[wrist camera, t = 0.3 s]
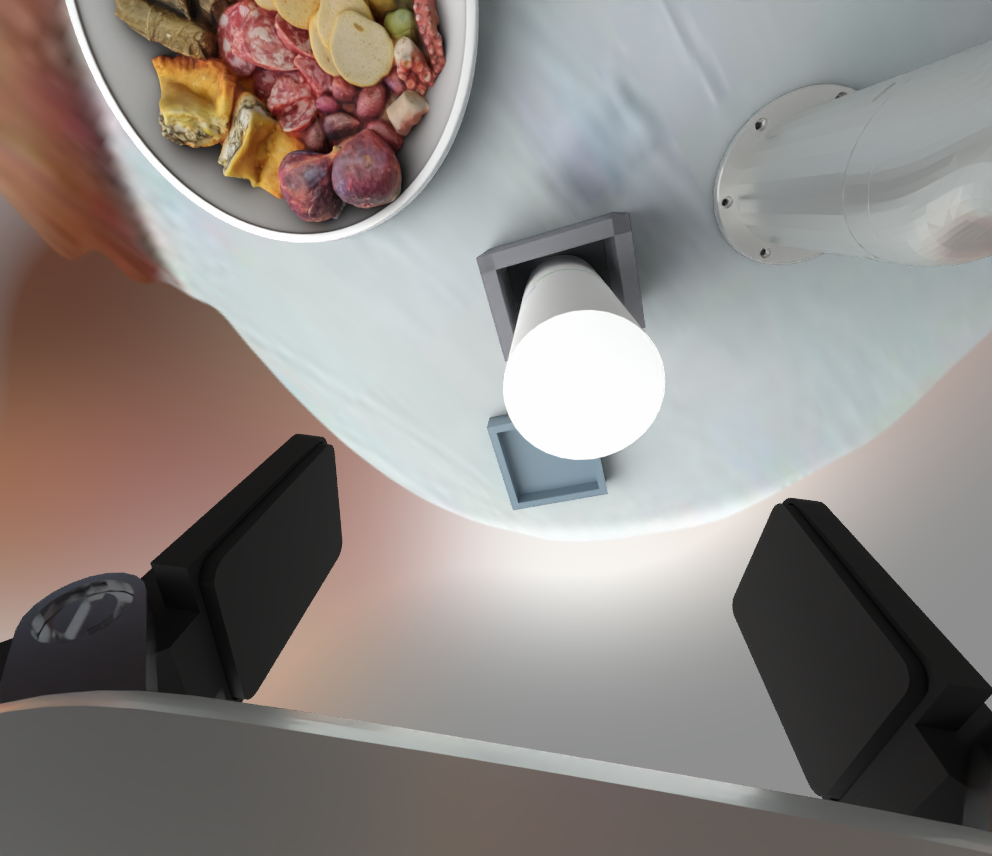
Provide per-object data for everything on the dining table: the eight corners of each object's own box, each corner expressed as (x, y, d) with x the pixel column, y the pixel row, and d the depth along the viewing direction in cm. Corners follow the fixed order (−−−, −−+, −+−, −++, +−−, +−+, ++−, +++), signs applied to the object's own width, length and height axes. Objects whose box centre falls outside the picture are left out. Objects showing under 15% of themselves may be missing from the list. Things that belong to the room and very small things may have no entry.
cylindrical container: (509, 304, 43) (473, 406, 21) (555, 237, 41) (568, 274, 18) (569, 346, 45) (594, 485, 22) (617, 284, 42) (701, 373, 19)
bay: (613, 212, 39) (628, 213, 32) (628, 307, 43) (645, 327, 35) (488, 249, 41) (476, 258, 34) (511, 337, 45) (505, 361, 38)
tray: (587, 396, 47) (589, 405, 45) (605, 481, 51) (607, 493, 49) (489, 418, 49) (487, 427, 47) (514, 498, 53) (513, 510, 51)
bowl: (40, -24, 36) (-82, -80, 29) (302, -413, 27) (216, -635, 20) (297, 300, 46) (252, 317, 39) (556, 97, 36) (560, 70, 29)
